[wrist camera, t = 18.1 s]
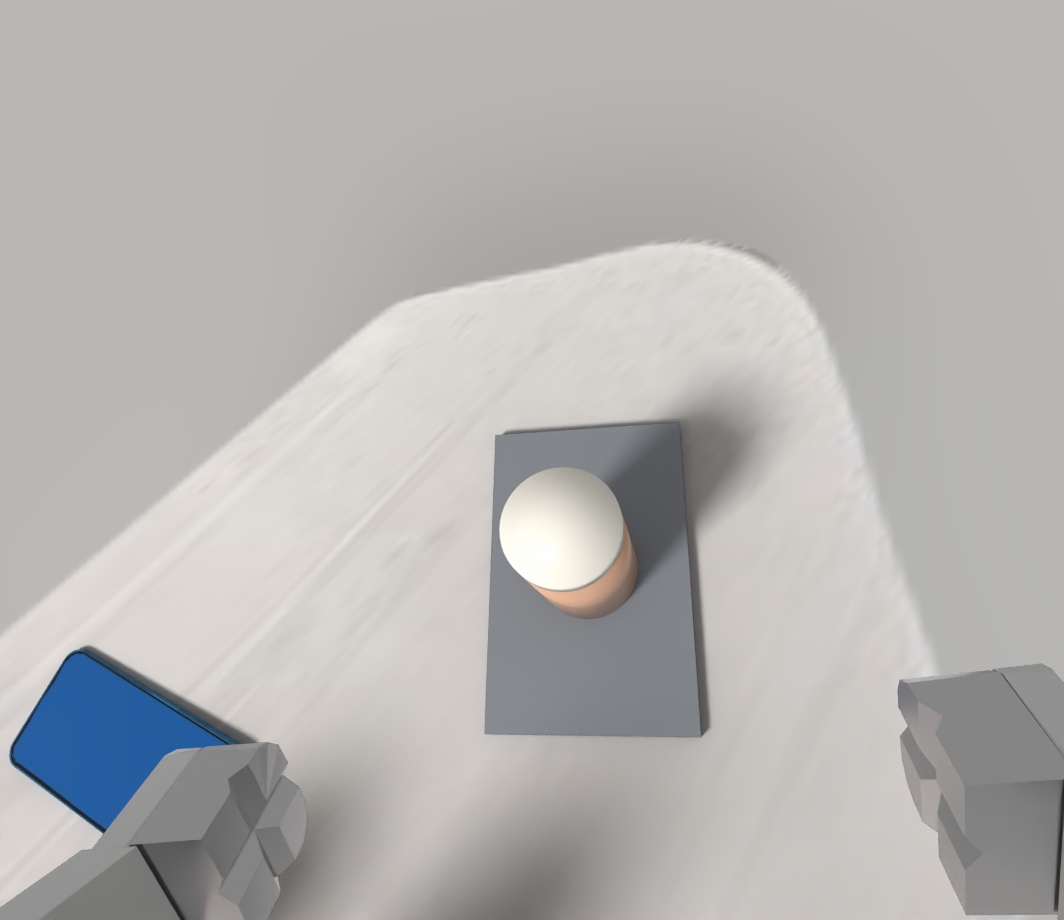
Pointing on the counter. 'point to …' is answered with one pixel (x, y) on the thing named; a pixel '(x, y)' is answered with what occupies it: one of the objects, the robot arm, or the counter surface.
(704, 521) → the counter surface
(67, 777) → the smartphone
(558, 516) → the terracotta jar
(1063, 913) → the robot arm
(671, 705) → the slate mat
